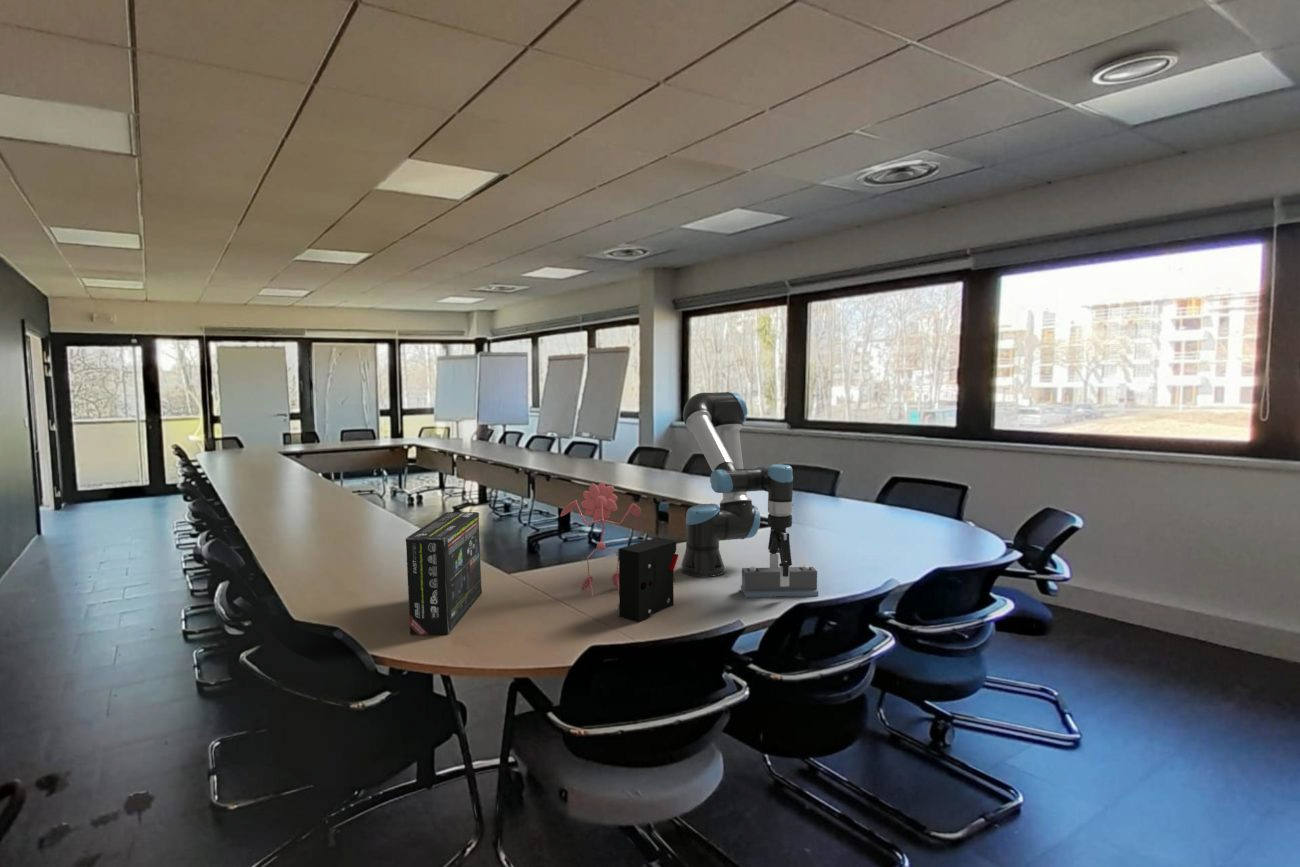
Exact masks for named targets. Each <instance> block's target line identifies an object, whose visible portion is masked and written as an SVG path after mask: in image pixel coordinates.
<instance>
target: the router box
mask: <svg viewBox="0 0 1300 867" xmlns="http://www.w3.org/2000/svg"><path fill="white" fill-rule="evenodd" d="M479 517H480V512H479V511H449V512H444V513H443V514H442V515H440V516H438V517H437V518H435V519H433V520H431V522H428V523H427V524H425V525H424V526H423V527H421V528H420V529H418V530H416V531H415V532H413V533H411V535H409V536H408V537H406V538H405V546H406V550H405V551H406V567H407V568H406V570H407V572H406V574H407V575H406V576H407V594H408V596H407V597H408V613H409V615H408V616H409V634H410V635H423V636H429V635H431V636H433V635H448V634H449V635H450V634H451V632H452V631H453V629H455V626H456V627H457V624H458V623H459V622H460V621H461V620H462V618H463V617H464V616H465V615H466V613H467V612H468V611H469V610H470V608H471V607H472V606H473V605H474V604H475V602H476V601H477V600H478V598H479V597H480V596H481V595H482V594H483V590H482V573H481V571H482V570H481V547H480V546H481V543H480V542H481V541H480V518H479Z"/></svg>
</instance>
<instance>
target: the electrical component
mask: <svg viewBox="0 0 1300 867" xmlns="http://www.w3.org/2000/svg"><path fill="white" fill-rule="evenodd" d="M676 552H677V542H676V541H675V540H674V539H670V538H669V539H668V538H663V537H654V538H650V539H647V540H643V541H640V542H636V543H633V544H630V545H627V546H626V545H625V546H623V547H620V548H618V549H617V550H616V553H615V555H616V557H617V561H619V563H618V573H619V591H618V594H619V596H618V597H619V599H618V600H619V603H618V604H617V605H616V610H617V612H618V616H619V618H622V619H626V620H629V621H631V622H636V623H642V622H643V621H646V620H647V619H650V618H651V617H652V615H655V614H657V613H659V612H661V611H664V610H667V609H669V608H670V607H673V606H674V571H675V567H676V564H677V561H678V558H679V554H677V553H676Z"/></svg>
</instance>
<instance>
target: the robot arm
mask: <svg viewBox="0 0 1300 867" xmlns="http://www.w3.org/2000/svg"><path fill="white" fill-rule="evenodd" d="M747 415H748V408H747V402H746V401H745V399H744V397H743V396H742V395H741V394H740V393H738V392H732V391H731V392H730V391H726V392H725V391H724V392H720V391H719V392H700V393H695V394H694V395H692V396H691V397H690V398H689V399H688V400H687V401H686V403H685V405H684V407H683V412H682V417H683V418H682V419H683V422H684V424H685V427H686V429H687V430H688V431H690V432H691V433H692V434H693V436H694V438H695V440H696V442H697V444H698V445H699V448H700V450H701V452H702V454H703V456H704V458H705V460H706V462H707V464H708V465H709V467H710V470H711V471H712V472H711V474H710V479H709V481H710V482H709V483H710V487H711V489H712V490H713V492H714V493H716V494H722V500H720V502H719V504H716V503H701V504H696V505H693V506H691V507H689V508H688V509H687V511H686V518H685V532H686V533H685V546H686V547H685V550H684V555H683V558H682V561H681V564H680V568H681V569H680V571H681V573H683V574H686V575H687V574H688V576H692V575H693V576H692V577H701V576H707V577H714V576H713V575H716V576H719V575H718V574H720V575H722V574H723V573H724V571H725V567H724V562H723V558H722V555H721V551H720V541H730V540H731V541H732V540H745V539H751V538H753V537H755V536H756V534H758V531H759V529H760V524H761V513H760V511H759V509H758V507H757V505H754V504H753V501H752V499H751V498H750V497H749V496H748V495H747V492H762V491H763V492H767V513H768V514H767V525H768V527H770V531H769V532H770V533H769V538H768V540H769V541H768V544H767V547H768V548H767V549H768V552H769V568H773V567H780V586H781V587H783V586H789V568H790V567H792V565H793V563H792V553H791V545H790V544H791V543H790V533H789V532H787V528H788V529H789V528H791V527H792V526H793V516H792V513H793V507H794V505H795V504H794V503H793V486H794V475H793V468H792V466H791V465H789V464H770V465H769V467H767V466H761V465H760V466H758V465H757V466H754V467H753V468H752V467H751V468H750V467H749V468H744V461H743V453H742V444H741V434H740V431H741V430H742V429H743V426H744V425H743V424H744V423H745V422H746V420H747V418H748V416H747ZM779 560H780V563H779ZM721 573H722V574H721Z"/></svg>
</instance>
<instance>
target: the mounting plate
mask: <svg viewBox="0 0 1300 867" xmlns="http://www.w3.org/2000/svg"><path fill="white" fill-rule="evenodd" d="M801 567H802V570H803V571H809V567H810V566H808V565H807V564H806V565H803V566H801ZM749 568H750V569H749V571H750V572H756V568H757V567H755V566H754V565H753V566H750V567H749ZM740 590H742V591H741V593H742V594H743V593H744V594H743V595H744V596H745V598H746V597H747V598H777V597H776V596H793V597H819V590H818V589H817V590H780V591H744V589H743V587H742V584H741V585H740ZM773 596H774V597H773Z"/></svg>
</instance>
